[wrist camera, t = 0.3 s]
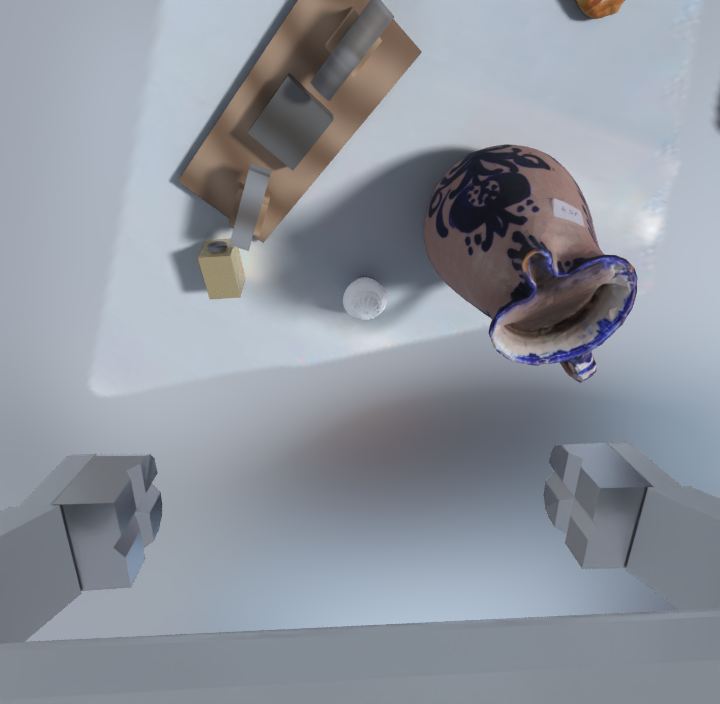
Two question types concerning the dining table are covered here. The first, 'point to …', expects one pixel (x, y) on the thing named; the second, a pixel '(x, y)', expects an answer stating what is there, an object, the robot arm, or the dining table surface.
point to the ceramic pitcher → (528, 257)
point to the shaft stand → (297, 110)
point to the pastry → (599, 7)
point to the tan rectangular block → (221, 269)
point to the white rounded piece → (364, 298)
